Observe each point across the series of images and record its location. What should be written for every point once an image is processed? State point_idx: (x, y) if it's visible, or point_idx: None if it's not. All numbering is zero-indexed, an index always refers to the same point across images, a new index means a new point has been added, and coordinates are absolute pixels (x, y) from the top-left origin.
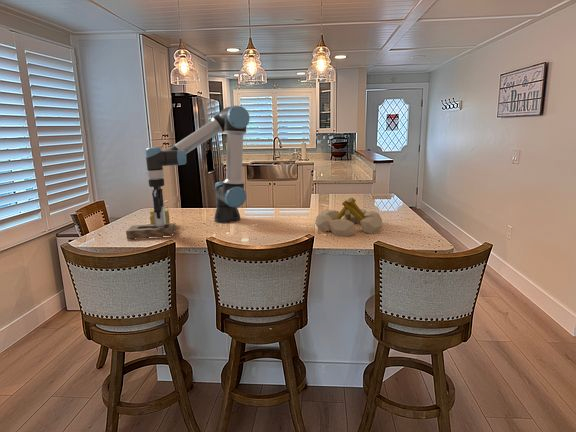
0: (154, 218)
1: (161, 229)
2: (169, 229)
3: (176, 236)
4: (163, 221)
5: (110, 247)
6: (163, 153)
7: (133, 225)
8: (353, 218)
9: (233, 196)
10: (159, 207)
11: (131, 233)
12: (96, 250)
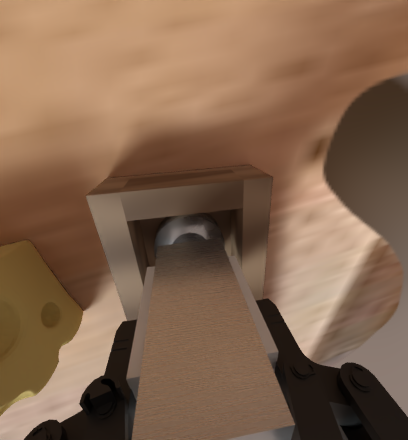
0: (36, 358)
1: (266, 236)
2: (269, 186)
3: (240, 137)
4: (228, 261)
5: (324, 337)
6: None
7: None
8: None
9: None
10: (382, 438)
11: None
12: (339, 354)
